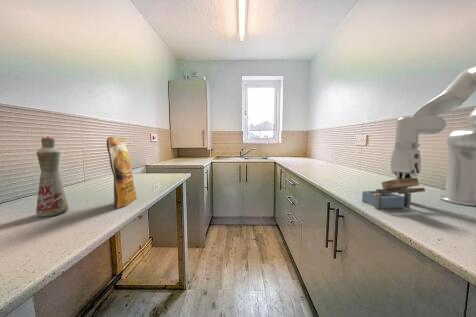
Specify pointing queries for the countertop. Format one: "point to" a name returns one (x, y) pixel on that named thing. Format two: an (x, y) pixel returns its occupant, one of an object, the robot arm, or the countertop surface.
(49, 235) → the countertop surface
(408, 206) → the stand
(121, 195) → the pancake mix bag
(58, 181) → the bottle
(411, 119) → the robot arm
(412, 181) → the lever
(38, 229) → the countertop surface
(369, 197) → the blue-grey open box
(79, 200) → the countertop surface
